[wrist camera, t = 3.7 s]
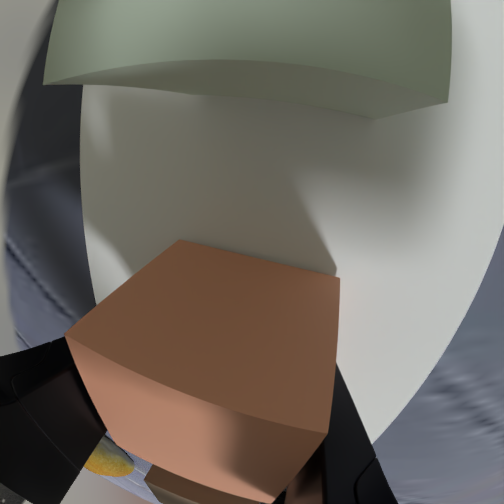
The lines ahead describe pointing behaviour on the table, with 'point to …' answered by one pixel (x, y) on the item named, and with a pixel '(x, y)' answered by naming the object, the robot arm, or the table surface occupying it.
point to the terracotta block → (215, 366)
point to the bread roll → (109, 460)
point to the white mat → (317, 201)
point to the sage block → (261, 50)
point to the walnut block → (187, 490)
